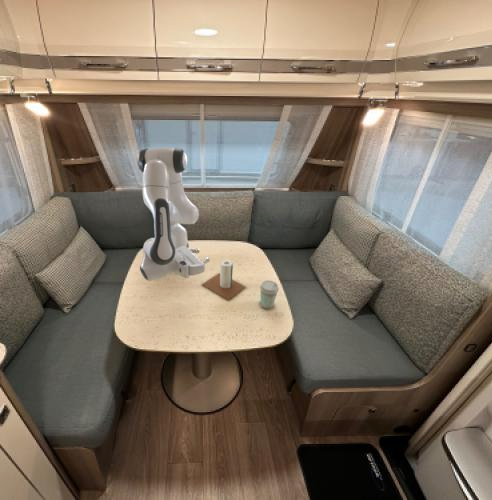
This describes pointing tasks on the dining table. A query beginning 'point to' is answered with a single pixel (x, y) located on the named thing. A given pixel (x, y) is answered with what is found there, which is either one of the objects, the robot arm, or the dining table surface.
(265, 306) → the coffee cup
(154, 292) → the dining table surface
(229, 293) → the cork mat
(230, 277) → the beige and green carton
